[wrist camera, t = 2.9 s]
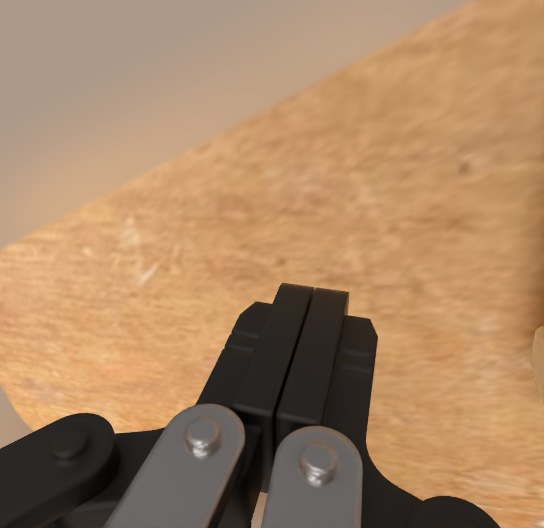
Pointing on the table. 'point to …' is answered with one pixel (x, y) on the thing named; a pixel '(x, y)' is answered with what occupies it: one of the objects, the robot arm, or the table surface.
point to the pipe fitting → (538, 360)
